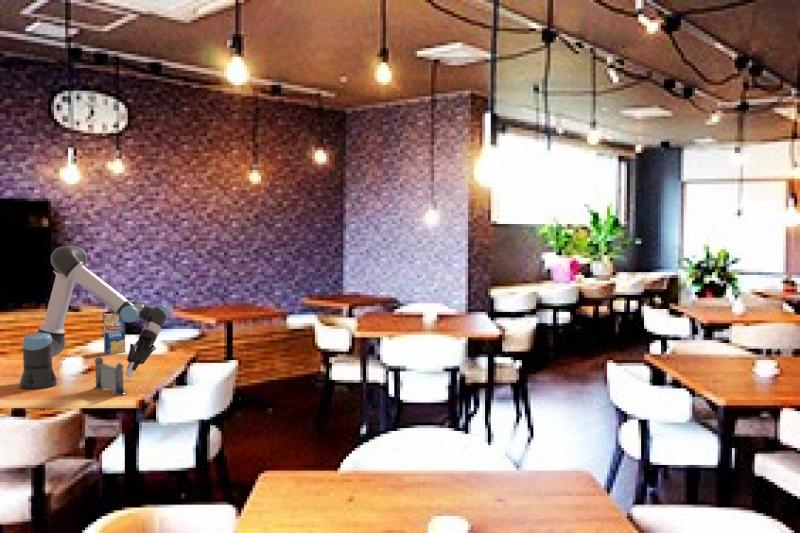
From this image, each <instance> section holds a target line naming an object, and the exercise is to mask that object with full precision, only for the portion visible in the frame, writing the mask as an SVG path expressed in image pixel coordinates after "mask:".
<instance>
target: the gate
mask: <svg viewBox="0 0 800 533" xmlns="http://www.w3.org/2000/svg"><path fill="white" fill-rule="evenodd" d="M100 367H101V387H103V388H105V389H106V390H109V391H113V385H117V367H116V366H114V365H109V364H105V363H103V364H100ZM117 392H118V389H117Z"/></svg>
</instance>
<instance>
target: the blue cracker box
mask: <svg viewBox="0 0 800 533" xmlns="http://www.w3.org/2000/svg"><path fill="white" fill-rule="evenodd" d="M102 315H103V316H102V318H103V319H102V320H103V324H102V325H103V352H104V354H105V355H107V354H119V353H121V354H122V353H126V322H125V321H123V320H122V319H121V316H120V315H119V314H118V313H105V314H104V313H103V314H102Z"/></svg>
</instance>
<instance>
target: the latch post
mask: <svg viewBox="0 0 800 533" xmlns="http://www.w3.org/2000/svg"><path fill="white" fill-rule="evenodd" d="M115 367H117V385H113V390H112V394H113V395H114V396H118V397H119V396H126V395H127V394H128V392H126V391H124V363H122V362H119V363H117V364H116V366H115ZM117 389H118V392H117Z"/></svg>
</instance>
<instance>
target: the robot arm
mask: <svg viewBox="0 0 800 533" xmlns="http://www.w3.org/2000/svg"><path fill="white" fill-rule="evenodd" d="M87 260H88V256H87V254H86V252H85V250H83V249H82V248H81V247H79V246H76V245H65V246H64V245H63V246H59V247H57V248H55V249H54V250H53V251H52V253H51V255H50V264H51V265H52V267H53V268H54V269H53V274H55V279H54V282H53V286H52V290H51V293H50V298H49V302H48V304H47V310H46V313H45V317H44V322H43V324H42V325H40V326H39V327H38V331H37V332H34V333H30V334H27V335H25V336H24V337H23V338H22V346H21V347H22V358H23V359H22V360H23V371H22V374H21V378H20V381H19V389H22V390H23V389H24V390H37V389H47V388H51V387H54V386H56V385H58V378H57V375H56V374H55V371H54V369H53V358H54V357H56V356H58V355H59V354H61V353H62V351H63V350H64V349H65V346H66V338H65V335H66V331H65V329H64V325H65V322H66V318H67V315H68V310H69V306H70V303H71V299H72V295H73V291H74V287H75V284H76V283H78V285H80V286H81V287H83V288H84V289H85V290H86V291H88V292H89V293H90V294H92V296H94V297H95V298H97V300H99V301H100V302H102V303H103V304H104V305H106V306H107V307H108V308H110V309H111V310H112V311H114V312H115V314H119V315H120V316H121V319H122V320H123V321H125V323H133V322H136V321H137V320H140V321H143V322H145V324H144V326H143V328H142V330H141V332H140V334H139V336H138V340H137V341H136V342H135V343H130V344H129V346H130V347H129V351H128V356H127V359H126V361H127V362H128V365H127V367H126V371H125V373H124V374H125V376H126V377H127V378H132V376H133V374H134V372H135V371H136V370H137V368H138V367H139V365H144V364H145V362H146V361H147V360H148V358H149V357H150V355H151V354H152V353H153V352H154V351H156V350H157V347H156V346H155V345H154V344H155V342H156V340H157V339H158V336H159V334H160V332H161V330H162V328H163V326H164V324H165V323H166V321H167V318H168V316H169V313H170V310H169V308H168V307H167V306H165V305H164V304H155V305H154V306H150V305H147V304H145V303H141V302H139V301H137V300H133V299H127V298H126V297H125V296H123V295H122V294H120V293H119V292H118V291H117V290H115V288H113V287H112V286H110V284H108V283H107V282H105V281H104V280H103V279H101V278H100V277H99V276H98V275H96V274H95V273H94V272H92V271H91V270H90V269H88V267H86V264H87Z"/></svg>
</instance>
